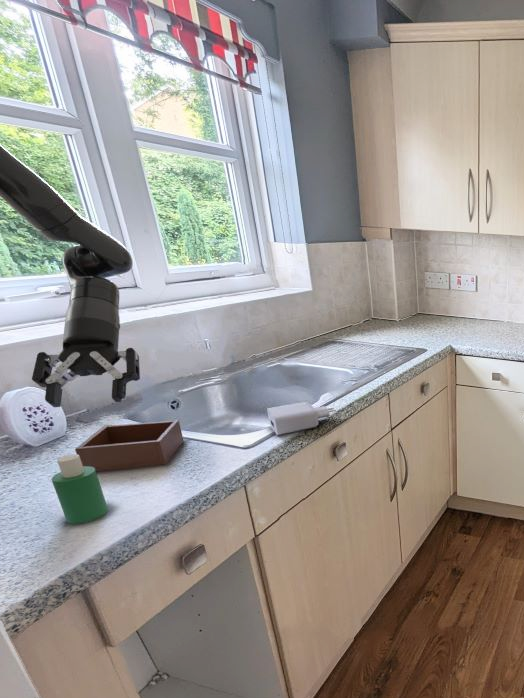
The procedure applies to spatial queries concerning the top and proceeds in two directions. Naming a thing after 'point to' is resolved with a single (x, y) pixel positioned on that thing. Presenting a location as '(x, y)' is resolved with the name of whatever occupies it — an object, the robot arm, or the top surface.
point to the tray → (131, 445)
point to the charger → (296, 417)
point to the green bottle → (78, 490)
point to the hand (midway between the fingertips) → (86, 402)
